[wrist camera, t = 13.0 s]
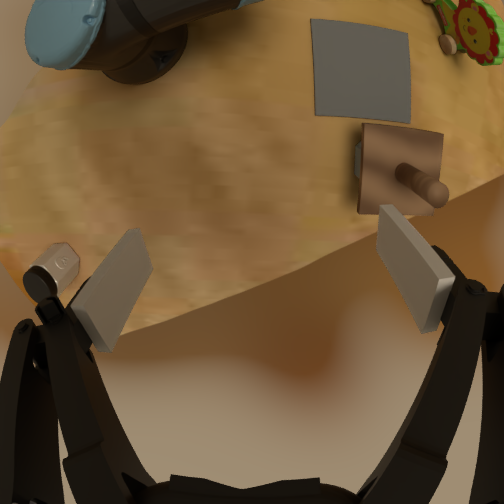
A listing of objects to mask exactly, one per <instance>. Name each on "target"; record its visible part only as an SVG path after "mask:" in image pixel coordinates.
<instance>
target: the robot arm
mask: <svg viewBox="0 0 504 504" xmlns="http://www.w3.org/2000/svg"><path fill="white" fill-rule="evenodd" d="M260 1H263V0H35V2H34V4H33V6H32V9H31V12H30V14H29V16H28V19H27V23H26V28H25V44H26V49H27V52H28V54H29V56H30V57H31V59H32V60H33V61H34V62H35V63H36V64H38V65H40V66H43V67H48V68H55V69H56V70H66V69H84V70H101V71H102V72H103V73H104V74H105V75H106V76H107V77H109V78H110V79H112V80H114V81H116V82H119V83H124V84H143V83H147V82H150V81H153V80H155V79H157V78H159V77H161V76H162V75H164V74H165V73H166V72H168V71H169V70H170V69H171V68H172V67H173V66H174V65H175V64H176V62H177V61H178V60H179V58H180V57H181V55H182V53H183V51H184V49H185V46H186V42H187V35H188V31H187V25H186V23H188V22H191V21H194V20H197V19H200V18H202V17H206V16H209V15H212V14H215V13H218V12H222V11H225V10H229V9H232V10H237V9H239V8H241V7H242V6H245V5H248V4H252V3H256V2H260ZM376 250H377V252H378V254H379V256H380V257H381V259H382V261H383V262H384V264H385V266H386V268H387V269H388V271H389V273H390V275H391V276H392V278H393V280H394V282H395V284H396V285H397V287H398V289H399V291H400V293H401V295H402V296H403V298H404V300H405V302H406V304H407V306H408V307H409V310H410V312H411V314H412V316H413V318H414V320H415V322H416V324H417V326H418V328H419V330H420V332H421V334H423V333H427V332H432V331H436V330H437V328H438V325H439V323H440V320H441V321H442V323H443V325H444V329H443V331H442V334H441V336H440V338H439V341H438V343H437V348H436V351H435V354H434V356H433V359H432V361H431V364H430V366H429V369H428V371H427V374H426V376H425V378H424V381H423V383H422V385H421V387H420V389H419V392H418V394H417V396H416V398H415V400H414V402H413V404H412V406H411V408H410V410H409V412H408V414H407V416H406V418H405V420H404V422H403V424H402V426H401V428H400V429H399V431H398V433H397V435H396V436H395V438H394V440H393V442H392V443H391V445H390V447H389V448H388V450H387V452H386V453H385V455H384V457H383V458H382V459H381V461H380V463H379V464H378V466H377V467H376V469H375V470H374V471H373V473H372V474H371V475H370V477H369V478H368V479H367V480H366V482H365V483H364V484H363V486H362V487H361V488H360V490H359V491H358V492H357V494H354V493H352V492H350V491H348V490H346V489H344V488H341V487H338V486H334V485H329V484H322V483H320V478H309V479H298V480H281V481H277V482H273V483H269V484H265V485H261V486H257V487H252V488H247V489H238V488H234V487H231V486H227V485H224V484H220V483H217V482H214V481H211V480H208V479H204V478H195V477H186V476H178V475H172V474H171V476H170V481H166V482H161V483H156V482H155V481H154V479H153V478H152V477H151V476H150V475H149V474H148V473H147V472H146V470H145V469H144V467H143V466H142V464H141V462H140V460H139V458H138V457H137V455H136V453H135V451H134V449H133V447H132V446H131V444H130V442H129V440H128V438H127V436H126V434H125V431H124V429H123V427H122V425H121V423H120V421H119V419H118V417H117V414H116V412H115V410H114V408H113V406H112V403H111V401H110V399H109V396H108V393H107V391H106V388H105V386H104V383H103V381H102V378H101V375H100V373H99V370H98V367H97V364H96V362H95V359H94V356H93V353H92V352H91V350H90V349H89V348H90V346H91V344H92V343H93V344H94V346H95V347H96V349H97V350H98V351H99V352H110V353H111V352H112V350H113V348H114V346H115V344H116V342H117V339H118V337H119V335H120V333H121V331H122V329H123V327H124V325H125V323H126V321H127V319H128V317H129V315H130V313H131V311H132V309H133V307H134V305H135V303H136V301H137V299H138V297H139V295H140V293H141V291H142V289H143V287H144V285H145V283H146V281H147V280H148V278H149V276H150V274H151V272H152V270H153V267H152V264H151V261H150V258H149V255H148V252H147V249H146V246H145V243H144V240H143V237H142V234H141V230H140V228H137V229H130V230H128V231H127V232H126V233H125V234H124V236H123V237H122V238H121V239H120V240H119V242H118V243H117V244H116V245H115V247H114V248H113V249H112V250H111V251H110V253H109V254H108V255H107V257H106V258H105V259H104V260H103V262H102V263H101V264H100V266H99V267H98V268H97V269H96V271H95V272H94V273H93V275H92V276H91V277H89V278H88V279H87V280H86V281H85V282H84V283H83V284H82V286H81V287H80V289H79V290H78V291H77V292H76V295H74V297H73V298H72V299H71V301H70V302H69V304H68V305H67V306H66V308H65V309H64V307H63V305H62V303H61V302H60V300H59V298H58V296H56V295H51V296H48V297H46V298H44V299H43V300H41V301H40V302H39V303H38V305H37V306H36V308H35V311H36V314H37V315H38V317H39V318H40V320H41V322H42V323H43V325H40V326H36V325H35V324H34V322H33V320H32V319H25V320H22V321H20V322H19V323H18V325H17V326H16V327H15V329H14V331H13V334H12V338H11V341H10V345H9V348H8V351H7V355H6V359H5V363H4V367H3V371H2V376H1V381H0V504H65V502H64V493H63V485H62V477H61V468H60V457H59V443H58V442H59V440H58V419H59V423H60V427H61V431H62V434H63V438H64V442H65V445H66V448H67V451H68V457H67V458H64V459H63V462H62V463H63V468H64V472H65V474H66V477H67V480H68V483H69V485H70V488H71V491H72V494H73V496H74V499H75V501H76V503H77V504H429V502H430V500H431V498H432V496H433V495H434V493H435V491H436V489H437V487H438V485H439V483H440V481H441V479H442V477H443V475H444V473H445V471H446V468H447V464H448V461H447V460H446V455H447V452H448V450H449V448H450V445H451V443H452V440H453V438H454V436H455V433H456V430H457V428H458V425H459V422H460V420H461V417H462V414H463V411H464V408H465V405H466V402H467V398H468V395H469V392H470V388H471V385H472V381H473V377H474V373H475V369H476V365H477V361H478V356H479V351H480V346H481V351H482V372H483V399H482V421H481V433H480V442H479V450H478V457H477V464H476V469H475V475H474V480H473V485H472V489H471V495H470V500H469V504H504V284H503V286H502V287H501V290H500V292H499V293H497V292H488V291H487V289H486V287H485V286H484V285H483V284H482V283H480V282H478V281H476V280H472V279H467V278H466V277H465V276H464V274H463V273H462V272H461V271H460V269H459V268H458V267H457V266H456V265H455V264H454V263H453V261H452V260H451V259H450V258H449V256H448V255H447V254H446V253H445V252H444V251H443V250H441V249H440V248H438V247H437V246H435V245H434V246H430V245H429V244H428V243H427V242H426V240H425V239H424V238H423V237H422V236H421V235H420V233H419V232H418V231H417V230H416V229H415V228H414V227H413V226H412V225H411V224H410V222H409V221H408V220H407V219H406V218H405V217H404V216H403V215H402V214H401V213H400V212H399V211H398V210H397V209H396V208H395V207H394V206H393V204H389V205H380V208H379V222H378V234H377V245H376ZM33 362H34V363H35V365H36V367H34V365H33Z"/></svg>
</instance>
